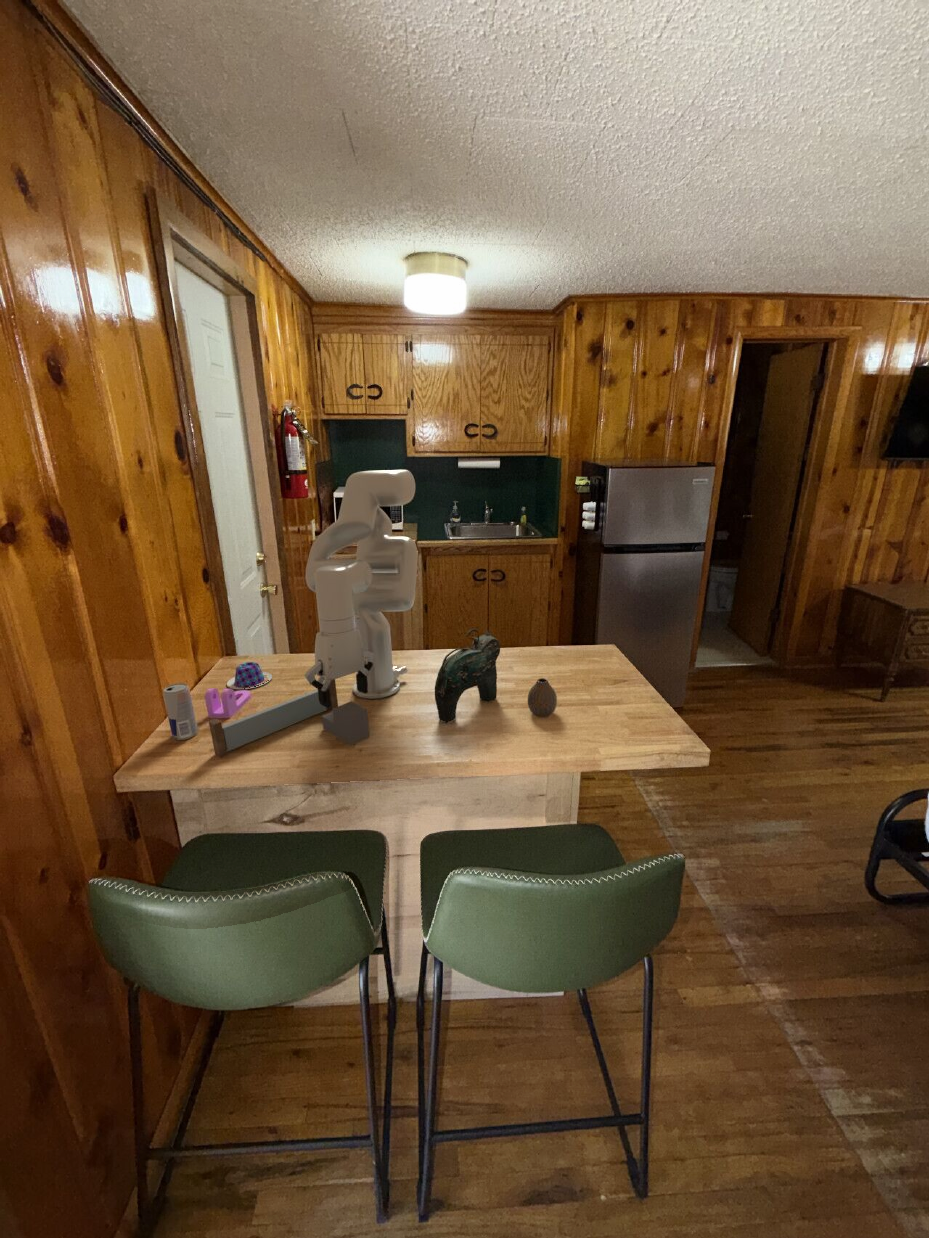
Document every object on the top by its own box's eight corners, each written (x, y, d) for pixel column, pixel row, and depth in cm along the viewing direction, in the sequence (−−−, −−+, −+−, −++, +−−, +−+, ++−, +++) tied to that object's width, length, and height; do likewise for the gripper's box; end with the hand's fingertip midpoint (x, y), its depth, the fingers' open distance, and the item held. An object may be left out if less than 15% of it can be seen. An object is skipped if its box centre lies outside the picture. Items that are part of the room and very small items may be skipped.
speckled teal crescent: (488, 691, 142) (486, 619, 136) (506, 698, 137) (506, 624, 131) (431, 718, 129) (427, 640, 122) (450, 727, 124) (446, 646, 118)
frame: (332, 704, 137) (329, 676, 134) (338, 707, 135) (335, 678, 133) (215, 754, 116) (208, 721, 114) (219, 758, 115) (213, 724, 112)
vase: (558, 709, 131) (559, 676, 129) (553, 722, 125) (554, 688, 122) (530, 705, 133) (531, 672, 131) (524, 718, 127) (524, 684, 125)
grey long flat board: (327, 707, 135) (325, 685, 133) (330, 709, 134) (327, 687, 133) (225, 750, 117) (220, 725, 115) (227, 752, 117) (223, 727, 115)
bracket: (230, 718, 132) (225, 693, 130) (208, 718, 133) (203, 692, 130) (255, 695, 144) (251, 671, 142) (235, 694, 145) (231, 671, 143)
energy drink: (178, 729, 127) (168, 683, 123) (201, 728, 127) (192, 681, 124) (168, 741, 122) (157, 693, 118) (192, 739, 122) (182, 692, 119)
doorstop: (341, 721, 129) (338, 694, 127) (369, 736, 122) (366, 709, 119) (323, 729, 125) (320, 702, 123) (351, 745, 118) (348, 717, 116)
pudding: (250, 671, 160) (247, 655, 159) (281, 677, 155) (278, 660, 154) (217, 687, 150) (214, 670, 148) (249, 694, 145) (246, 676, 143)
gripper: (360, 612, 123) (366, 682, 127) (291, 630, 111) (300, 706, 115) (381, 618, 118) (386, 690, 122) (311, 637, 106) (319, 717, 110)
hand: (344, 698), depth 119 cm, fingers open, 9 cm apart
